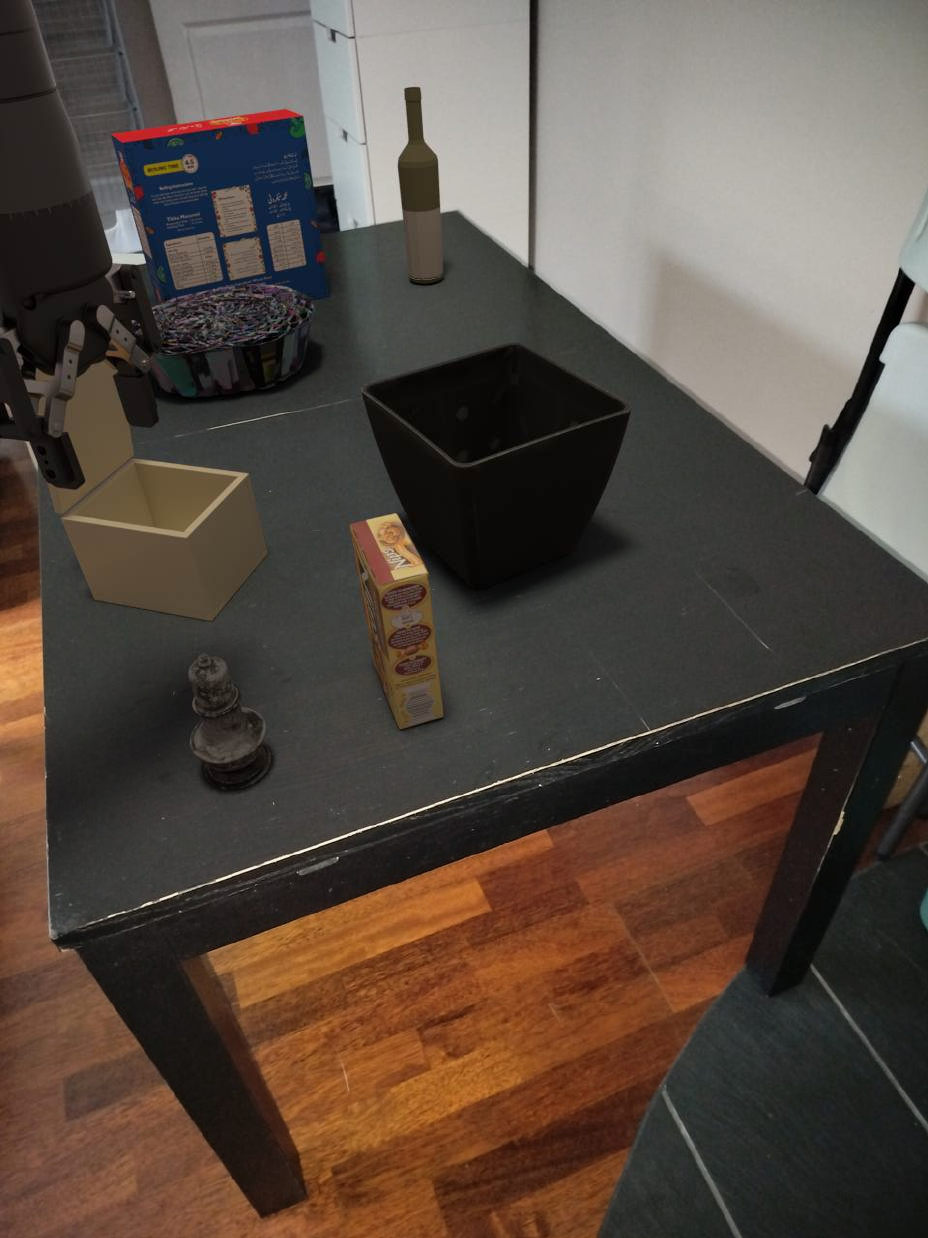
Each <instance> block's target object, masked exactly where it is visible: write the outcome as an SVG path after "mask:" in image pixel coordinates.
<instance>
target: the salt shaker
mask: <svg viewBox="0 0 928 1238" xmlns="http://www.w3.org/2000/svg"><path fill="white" fill-rule="evenodd" d="M230 673H231V672H230V670H229V666H228V664H227V663H226V661H225V660H224V659H223V658H221V657H219V656H216V655H209V654H207V653H205V652H201V653H200V654H199V655H198V657H197V659H196V660H195V661H194V662H193V663H192V664H191V665H190V667H189V669H188V672H187V674H188V681H189V683H190V687H191V689H192V692H193V695H194V697H193V699H192V709H193V711H194V712H195V713H196V714H197V715H198V716H200V718H201V719H200V721H199V722H198V723H197V724H196V725H195V726H194V728H193V730H192V731H191V734H190V738H189V747H190V750H191V751H192V754H193V756H195V757H196V758H197V759H199V760H200V761H202V762H203V764H204V768H203V769H204V777H205V778H206V781H207V782H208V783H209V784H210V785H211V786H213V787H214V788H217V789H219V790H223V791H237V790H241V789H245V788H247V787H249V786H252V785H254V784H256V783H257V782H258V781H260V780H261V779H262V778H263V777H264V776H265V775H266V774H267V772H268V770H269V769H270V767H271V762H272V755H271V751H270V749H269V748H268V746H267V745H265V744H264V742H265V739H266V734H267V723H266V720H265V718H264V717H263V715H262V714H260V713H259V712H258V711H257V710H254V709H252V708H248V707H245V706H244V707H243V706H241V702H240V701H241V698H242V692H241V690H240V687H238V685H236V684H235V683H233V680H232V676H231V674H230Z"/></svg>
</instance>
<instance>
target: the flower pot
mask: <svg viewBox="0 0 928 1238" xmlns="http://www.w3.org/2000/svg"><path fill="white" fill-rule="evenodd" d="M360 391H361V395H362V399H363V400H362V401H363V402H364V403H363V404H364V408H365V411H366V414H367V418H368V421H369V424H370V428H371V431H372V434H373V437H374V440H375V442H376V446H377V449H378V452H379V454H380V457H381V460H382V462H383V465H384V468H385V470H386V472H387V475H388V477H389V480H390V483H391V485H392V487H393V489H394V491H395V494H396V495H397V498H398V500H399V502H400V504H401V506H402V509H403V511H404V513H405V514H406V517H407V519H408V521H409V523H410V525H411V526H412V528H413V530H414V532H415V534H416V535H417V536H418V538H419V539H421V540H422V541H423V542H424V543H425V544H426V546H428V547H429V548H430V549H431V550H432V551H433V552H434V553H435V554H436V555H437V556H438V557H439V558H441V560H443V561H444V562H445V564H447V565H448V566H449V568H451V569H452V570H453V571H454V572H455V573H456V575H458V576H459V577H460V578H461V579H462V580H463V581H464V582H465V583H466V584H468V585H469V587H471V588H473V589H485V588H487V587H489V586H492V585H494V584H497V583H499V582H501V581H504V580H506V579H509V578H511V577H514V576H516V575H519V574H521V573H524V572H526V571H529V570H531V569H534V568H535V567H537V566H540V565H543V564H545V563H548V562H550V561H552V560H555V559H558V558H559V557H561V556H564V555H567V554H569V553H571V552H573V551H574V550H575V549H576V547H577V545H578V544H579V542H580V540H581V538H582V537H583V535H584V534H585V532H586V530H587V527H588V526H589V524H590V522H591V520H592V518H593V516H594V514H595V512H596V510H597V508H598V506H599V504H600V502H601V499H602V497H603V495H604V493H605V490H606V489H607V486H608V483H609V482H610V478H611V475H612V473H613V471H614V468H615V465H616V462H617V460H618V457H619V454H620V451H621V447H622V444H623V441H624V438H625V434H626V431H627V428H628V424H629V421H630V417H631V414H632V409H633V407H632V404H630V403H629V402H628V401H626V400H624V399H622V398H620V397H619V396H617V395H616V394H614V393H612V392H610V391H608V390H606V389H605V388H603V387H601V386H599V385H598V384H596V383H594V382H593V381H590V380H589V379H587V378H585V377H584V376H581V375H580V374H578V373H576V372H575V371H573V370H571V369H569V368H567V367H566V366H564V365H562V364H560V363H559V362H557V361H555V360H553V359H552V358H550V357H548V356H547V355H545V354H544V353H541V352H539V351H538V350H536V349H534V348H532V347H530V346H529V345H527V344H525V343H523V342H520V341H519V342H518V341H512V342H507V343H504V344H499V345H497V346H496V345H495V346H493V347H489V348H486V349H483V350H479V351H475V352H472V353H469V354H465V355H462V356H459V357H456V358H455V357H454V358H452V359H449V360H445V361H442V362H439V363H435V364H431V365H427V366H424V367H421V368H417V369H414V370H410V371H407V372H403V373H400V374H397V375H394V376H390V377H387V378H383V379H380V380H377V381H373V382H369V383H366V384H364V385H363V386H362V387H361V388H360Z"/></svg>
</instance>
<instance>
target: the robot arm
mask: <svg viewBox="0 0 928 1238" xmlns="http://www.w3.org/2000/svg"><path fill="white" fill-rule="evenodd" d="M47 51H48V50H47V48H46V45H45V41H44V37H43V35H42V31H41V27H40V24H39V21H38V17H37V13H36V10H35V7H34V4H33V1H32V0H0V439H2V440H14V441H22V442H27V443H29V446H30V449H31V450H32V453H33V456H34V458H35V460H36V462H37V465H38V468H39V469H40V473H41V475H42V478H43V479H44V481H45V482H48V483H51V484H52V485H53V486H55V487H57V488H64V489H72V490H77V489H78V488H79V487H81V486H82V485H83V484H84V483H85V477H84V475H83V472H82V469H81V466H80V464H79V461H78V458H77V455H76V453H75V450H74V447H73V445H72V442H71V439H70V436H69V434H68V432H63V430H64V421H65V412H66V404H67V402H68V401H69V400H70V399H72V398H73V396H74V394H75V386H76V378H78V377H79V376H81V375H82V374H84V373H85V372H86V371H87V370H88V368H89V367H90V366H91V365H92V364H96V363H100V362H102V361H104V362H105V363H106V364H107V365H108V366H109V367H111V368H112V369H113V370H118V372H117V373H116V374H114V375H113V379H114V382H115V385H116V388H117V392H118V395H119V398H120V401H121V404H122V407H123V410H124V414H125V417H126V420H127V422H128V423H129V426H130V425H131V426H132V427H137V428H138V427H139V428H147V429H151V428H153V427H154V426H155V425H157V424H158V423H159V421H160V417H159V413H158V403H157V400H156V397H155V393H154V391H153V387H152V383H151V379H150V375H149V373H150V371H149V370H150V367H151V361H150V358H151V356H152V354H153V353H160V352H161V350H162V346H163V344H162V339H161V336H160V333H159V330H158V326H157V323H156V320H155V317H154V314H153V310H152V307H153V306H152V305H151V301H150V299H149V295H148V292H147V289H146V285H145V283H144V279H143V276H142V275H143V274H142V272H141V269H140V267H139V266H138V264H136V263H135V264H134V263H118V262H117V263H115V262H113V261H114V260H113V255H112V252H111V249H110V245H109V242H108V239H107V238H108V237H107V235H106V232H105V229H104V225H103V221H102V218H101V215H100V211H99V208H98V205H97V201H96V197H95V194H94V191H93V187H92V184H91V180H90V177H89V173H88V170H87V166H86V163H85V159H84V155H83V153H82V149H81V146H80V142H79V140H78V136H77V134H76V130H75V128H74V125H73V123H72V121H71V119H70V117H69V115H68V112H67V110H66V107H65V105H64V102H63V100H62V97H61V94H60V91H59V89H58V88H57V82H56V79H55V75H54V71H53V68H52V64H51V62H50V58H49V54H48V52H47ZM132 320H135V321H137V322H138V323H139V325H140V328H141V331H142V334H138V333H135V330H134V327H133V324H132ZM36 368H37V369H39V370H40V371H41V372H43V373H44V374H47V375H50V376H54V378H53V379H52V380H51V381H48V382H46V381H36ZM42 397H45V398H46V399H45V409H44V416H41V415H38V407H39V400H40V398H42ZM6 405H7V406H6ZM7 407H8V408H9V410H10V413H11V416H10V415H9V412H8V408H7ZM48 483H47V484H48Z"/></svg>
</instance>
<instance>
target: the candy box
mask: <svg viewBox="0 0 928 1238" xmlns="http://www.w3.org/2000/svg"><path fill="white" fill-rule="evenodd" d="M349 529H350V534H351V535H350V536H351V541H352V542H351V543H352V547H353V552H354V559H355V563H356V569H357V574H358V582H359V586H360V592H361V598H362V604H363V609H364V616H365V621H366V626H367V631H368V636H369V642H370V647H371V654H372V659H373V665H374V667H375V670H376V673H377V675H378V678H379V681H380V684H381V686H382V689H383V693H384V694H385V697H386V699H387V702H388V705H389V707H390V711H391V712H392V715H393V718H394V719H395V722H396V725H397V727H398V729H399V730H404V729H407V728H411V727H414V726H417V725H421V724H424V723H427V722H431V721H434V720H438V719H441V718H444V707H443V706H444V705H443V698H442V697H443V696H442V689H441V679H440V670H439V669H440V668H439V660H438V651H437V650H438V649H437V641H436V631H435V630H436V629H435V622H434V613H433V604H432V593H431V585H430V584H431V583H430V573H429V571H428V569H427V566H426V565H425V562H424V561H423V559H422V557H421V555H420V553H419V551H418V550H417V548H416V546H415V544H414V541H413V540H412V538H411V537H410V535H409V533H408V532H407V529H406V527H405V525H404V524H403V523H402V520H401V518H400V517H399V515H398V513H395V512H394V513H391V514H387V515H382V516H378V517H373V518H368V519H365V520H360V521H356V522H353V523H350V524H349Z"/></svg>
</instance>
